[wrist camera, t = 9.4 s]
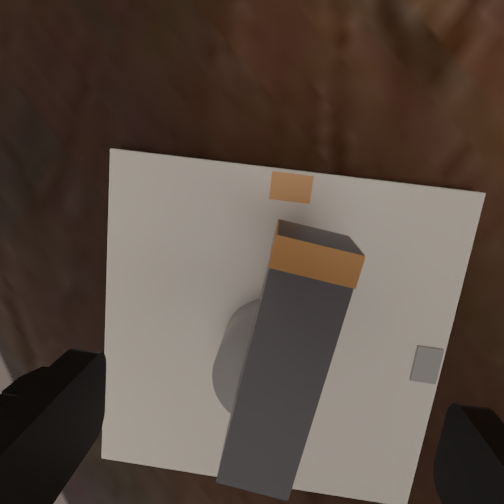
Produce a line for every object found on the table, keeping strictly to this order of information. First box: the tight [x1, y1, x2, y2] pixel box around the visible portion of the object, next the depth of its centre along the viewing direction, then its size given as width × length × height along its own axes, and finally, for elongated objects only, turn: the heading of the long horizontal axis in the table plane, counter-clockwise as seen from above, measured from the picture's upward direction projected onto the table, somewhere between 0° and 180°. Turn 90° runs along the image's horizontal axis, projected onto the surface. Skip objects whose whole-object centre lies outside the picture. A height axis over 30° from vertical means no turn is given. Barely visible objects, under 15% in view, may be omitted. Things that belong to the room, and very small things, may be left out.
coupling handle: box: [216, 219, 366, 501], centre depth 18 cm, size 10×3×6 cm, turn 167°
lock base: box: [101, 148, 486, 504], centre depth 25 cm, size 22×22×6 cm
